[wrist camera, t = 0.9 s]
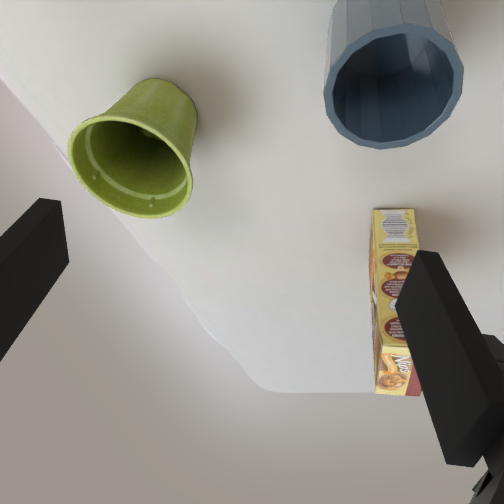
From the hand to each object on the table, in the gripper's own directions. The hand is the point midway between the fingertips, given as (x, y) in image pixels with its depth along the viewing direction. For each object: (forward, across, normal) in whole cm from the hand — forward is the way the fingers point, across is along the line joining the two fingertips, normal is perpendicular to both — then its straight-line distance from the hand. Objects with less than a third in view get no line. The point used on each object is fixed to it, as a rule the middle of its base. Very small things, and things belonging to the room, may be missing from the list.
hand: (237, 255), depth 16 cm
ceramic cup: (+21, +8, +6) cm, 23 cm away
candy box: (+26, +16, -13) cm, 33 cm away
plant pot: (+25, -8, -3) cm, 26 cm away
